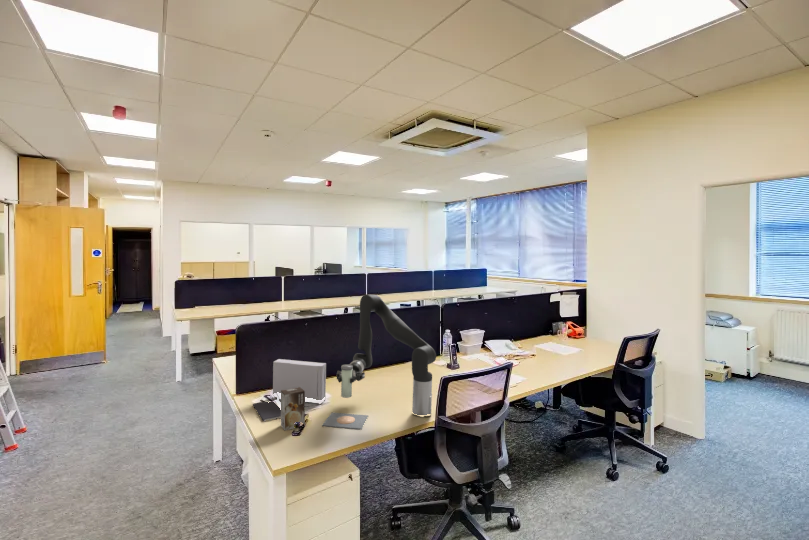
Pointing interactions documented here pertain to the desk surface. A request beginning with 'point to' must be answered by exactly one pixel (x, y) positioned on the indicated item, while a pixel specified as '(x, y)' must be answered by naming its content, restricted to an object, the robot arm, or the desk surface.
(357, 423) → the card
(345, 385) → the tube
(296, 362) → the game console
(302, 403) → the coffee box
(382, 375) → the desk surface
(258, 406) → the notebook
